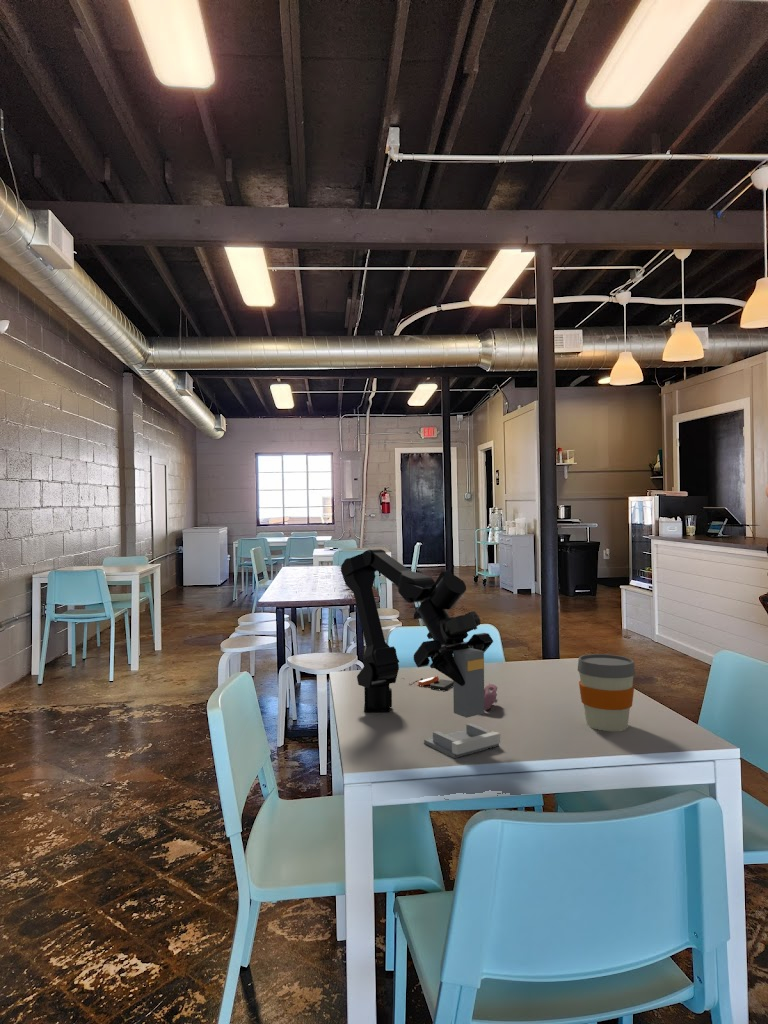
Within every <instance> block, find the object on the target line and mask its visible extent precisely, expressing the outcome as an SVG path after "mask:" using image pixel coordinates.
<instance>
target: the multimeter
mask: <svg viewBox="0 0 768 1024" xmlns="http://www.w3.org/2000/svg"><path fill="white" fill-rule="evenodd" d="M416 683H417V684H418V686H419V685H421V686H420V687H425V686H424V685H426V686H429V688H434V689H433V690H435V689H440V690H439V691H442V690H445V691H447V690H449V689H451V688H452V686H453V680H449V679H439V676H438V675H435V676H431V677H428V678H426V679H423V678H420V679H418V680H415V681H413V682H411V684H410V683H408V684H409V685H410V686H411V685H413V684H416ZM409 685H408V686H409ZM422 685H423V686H422ZM450 687H451V688H450ZM448 688H449V689H448ZM446 689H447V690H446Z"/></svg>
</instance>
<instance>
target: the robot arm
mask: <svg viewBox="0 0 768 1024" xmlns="http://www.w3.org/2000/svg"><path fill="white" fill-rule="evenodd" d="M340 572H341V575H342V578H343V581H344V584H345V586H347V588H349V590H350V591H351V592H352V593H353V596H354V599H355V605H356V608H357V613H358V616H359V621H360V625H361V630H362V634H363V638H364V643H365V646H366V647H365V650H364V653H363V658H362V662H363V667H362V669H360V671H359V673H358V674H357V676H356V680H357V684H358V686H362V687H363V688H364V691H363V692H364V706H363V712H364V713H378V712H379V713H381V712H382V713H383V712H384V713H385V712H386V713H387V712H388V713H389V712H391V708H392V707H393V698H392V697H393V696H392V695H393V694H392V693H393V690H392V688H390V684H396V682H397V678H398V674H399V670H400V665H399V663H400V661H399V658H398V655H397V649H396V648H395V646H389V644H388V643H387V642H386V639H385V636H384V630H383V627H382V624H381V619H380V614H379V611H378V607H377V603H376V599H375V595H374V591H373V586H374V584H375V580H376V572H378V573H380V574H381V575H382V576H383V577H385V578H386V579H387V580H389V581H390V582H391V583H393V584H394V585H395V586H396V587H397V593H398V594H399V596H401V598H403V599H404V601H405V602H406V603H408V604H413V603H420V604H419V605H418V606H416V607H415V610H414V613H413V619H414V620H418V619H419V620H422V622H423V623H424V625H425V627H426V629H427V631H428V633H427V634H426V637H427V638H428V640H427V641H422V642H421V644H420V646H419V647H418V648H417V650H416V651H415V652H414V654H413V662H414V663H415V665H416V667H417V668H422V667H428V666H429V667H430V668H431V669H435V670H436V671H438V672H440V673H442V674H443V675H444V676H446V677H447V678H449V679H451V681H455V682H456V683H458V684H459V685H460V686H463V685H464V684H465V681H464V679H463V677H462V675H461V673H460V671H459V669H458V667H457V665H456V663H455V661H454V659H453V651H456V650H462V649H468V648H473V649H477V650H481V651H484V653H486V651H487V650H488V649H489V648H490V646H491V645H492V644H493V643H494V639H492V637H491V635H490V633H488V632H481V633H474V634H472V636H471V637H470V639H469V640H468V641H465V640H466V639H467V638H468V636H469V634H468V633H469V632H471V631H476V630H478V626H480V625H481V620H480V616H479V615H478V614H477V612H476V611H469V612H468V613H465V614H462V615H461V614H460V615H458V616H455V617H451V616H450V614H449V613H448V611H447V610H451V609H453V608H454V607H455V606H456V604H457V603H458V602H459V600H460V599H461V598H462V596H463V595H464V594H465V592H466V591H467V586H466V583H465V581H464V580H463V579H461V578H460V577H458V576H456V575H455V574H452V573H451V572H450V571H449V570H441V572H440V573H439V575H438V578H437V579H436V580H434V579H433V578H432V576H428V575H426V574H424V573H420V572H415V571H412V570H410V569H409V568H407V567H406V566H404V565H403V564H402V563H400V562H399V561H397V560H396V559H394V557H392V556H391V555H389V554H387V552H386V551H385V549H382V548H378V549H377V548H374V549H373V548H371V549H367V550H364V552H362V553H359V554H357V555H354V556H351V557H348V558H346V559H344V560H343V562H342V564H341V566H340ZM431 639H432V640H431ZM430 659H431V660H430ZM430 661H431V664H430ZM429 664H430V665H429Z"/></svg>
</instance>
